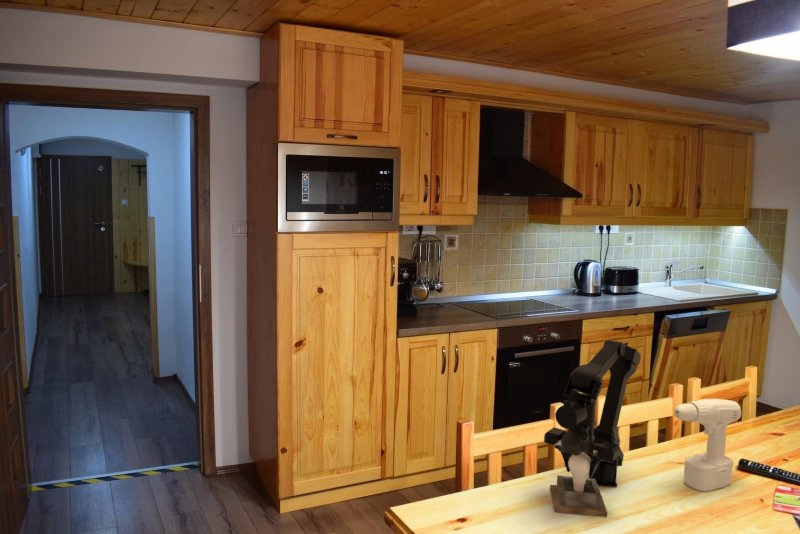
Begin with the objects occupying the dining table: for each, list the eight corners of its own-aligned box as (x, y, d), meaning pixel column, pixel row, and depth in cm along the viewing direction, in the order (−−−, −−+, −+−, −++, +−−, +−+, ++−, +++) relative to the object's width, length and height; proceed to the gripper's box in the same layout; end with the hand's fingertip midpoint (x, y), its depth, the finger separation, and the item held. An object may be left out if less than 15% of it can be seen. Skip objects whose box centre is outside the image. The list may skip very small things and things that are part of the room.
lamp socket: (598, 492, 175) (599, 476, 175) (607, 517, 163) (608, 499, 162) (550, 488, 177) (551, 472, 176) (554, 512, 164) (555, 494, 164)
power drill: (657, 486, 180) (664, 400, 177) (715, 471, 191) (723, 390, 188) (682, 500, 173) (690, 410, 169) (742, 483, 183) (750, 399, 180)
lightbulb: (590, 500, 166) (593, 459, 164) (566, 496, 167) (569, 456, 166) (590, 489, 172) (592, 450, 170) (566, 485, 173) (569, 447, 172)
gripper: (536, 417, 166) (533, 474, 168) (607, 436, 155) (602, 497, 157) (554, 406, 175) (551, 460, 177) (623, 423, 163) (618, 481, 166)
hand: (579, 474), depth 169 cm, fingers closed on lightbulb, 6 cm apart
